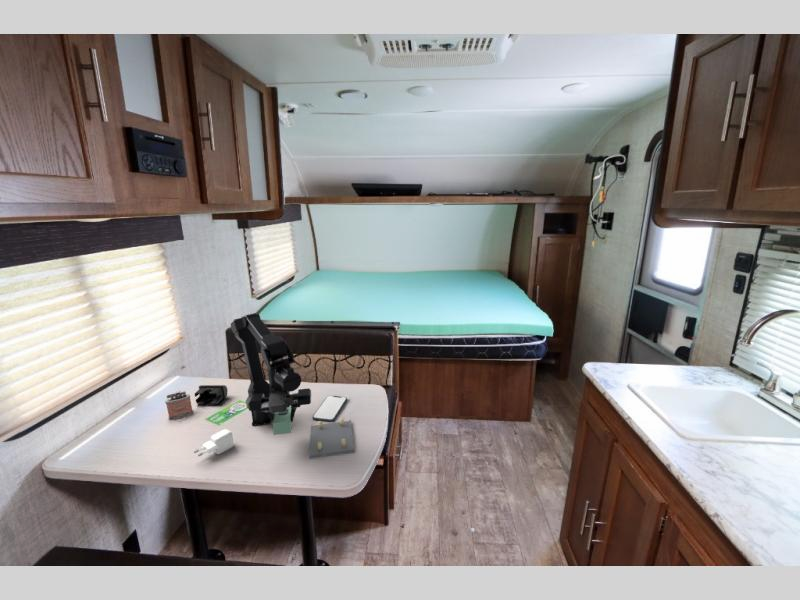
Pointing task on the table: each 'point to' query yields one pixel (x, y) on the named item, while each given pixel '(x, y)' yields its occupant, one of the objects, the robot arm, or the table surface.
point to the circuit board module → (282, 422)
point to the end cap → (211, 395)
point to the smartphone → (330, 409)
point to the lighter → (178, 405)
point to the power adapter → (218, 443)
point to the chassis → (331, 439)
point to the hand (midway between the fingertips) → (283, 422)
